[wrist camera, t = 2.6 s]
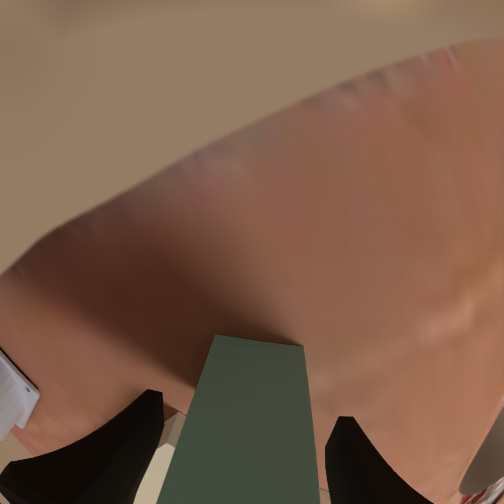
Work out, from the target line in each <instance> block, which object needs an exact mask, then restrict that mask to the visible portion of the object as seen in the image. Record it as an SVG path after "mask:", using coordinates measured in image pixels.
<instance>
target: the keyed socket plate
mask: <svg viewBox="0 0 504 504" xmlns="http://www.w3.org/2000/svg"><path fill="white" fill-rule="evenodd" d="M185 419H186V416H185V415H184V414H182V413H181V412H179V411H178V412H177V413H176V414H175V415H173V416H172V417H171V418H169V419H168V420H167V421H165V422H164V424H165V426H164V429H163V432H162V436H161V439H160V442H159V445H158V447H157V449H156V452H155V454H154V456H153V458H152V460H151V462H150V465H149V467H148V469H147V471H146V473H145V475H144V477H143V479H142V481H141V484H140V486H139V488H138V491H137V494H136V497H135V500H134V503H133V504H156V502H157V499H158V496H159V493H160V491H161V488H162V485H163V482H164V479H165V476H166V473H167V470H168V467H169V465H170V462H171V459H172V456H173V453H174V450H175V447H176V444H177V442H178V439H179V436H180V433H181V430H182V427H183V424H184V422H185ZM319 493H320V504H331V501H330V495H329V492H327V491H325V490H323V489H320V488H319Z"/></svg>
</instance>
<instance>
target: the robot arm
mask: <svg viewBox="0 0 504 504" xmlns="http://www.w3.org/2000/svg"><path fill="white" fill-rule="evenodd" d="M39 397H40V393H39V391H38V390H37V389H36V388H35V387H34V386H33V385H32V384H31V383H30V382H29V381H28V380H27V379H26V378H25V377H24V376H23V375H22V374H21V373H20V371H19V370H18V369H17V368H16V367H15V366H14V365H13V364H12V363H11V362H10V361H9V359H8V358H7V357H6V356H5V355H4V354H3V353H2V351H1V350H0V441H1V440H2V439H3V438H4V437H5V435H6V434H7V433H8V432H9V431H10V429H11V428H12V427H13V426H14V425H15V424H16V425H17V426H18V427H19V428H21V429H23V428H24V427H25V425H26V423H27V421H28V419H29V417H30V415H31V413H32V411H33V409H34V407H35V405H36V403H37V401H38V399H39ZM164 426H165V424H164V411H163V394H162V392H158V391H154V390H150V389H147V390H146V391H144V392H143V393H142V394H141V395H140V396H139V397H138V398H137V399H136V400H135V401H133V402H132V403H131V404H130V405H129V406H128V407H127V408H125V409H124V410H123V411H122V412H120V413H119V414H118V415H117V416H115V417H114V418H113V419H111V420H110V421H109V422H107V423H106V424H104V425H103V426H102V427H100V428H99V429H97V430H96V431H94V432H92V433H91V434H89V435H87V436H86V437H84V438H82V439H80V440H78V441H76V442H74V443H72V444H70V445H68V446H66V447H63V448H61V449H58V450H56V451H53V452H50V453H47V454H44V455H40V456H37V457H33V458H28V459H23V460H18V461H11V462H10V463H9V464H8V465H7V466H6V467H5V468H4V470H3V472H2V473H1V474H0V493H2V495H3V496H4V497H5V498H6V499H7V500H8V501H9V503H10V504H133V503H134V500H135V497H136V494H137V491H138V488H139V486H140V484H141V481H142V479H143V477H144V475H145V473H146V471H147V469H148V467H149V465H150V462H151V460H152V458H153V456H154V454H155V452H156V449H157V447H158V445H159V442H160V439H161V436H162V432H163V429H164ZM325 468H326V475H327V482H328V488H329V495H330V501H331V504H434V503H432V502H431V501H429V500H428V499H426V498H425V497H423V496H422V495H421V494H419V493H418V492H417V491H415V490H414V489H413V488H412V487H410V486H409V485H408V484H407V483H406V482H405V481H404V480H403V479H402V478H401V477H400V476H399V475H398V474H397V473H396V472H395V471H394V470H393V469H392V468H391V467H390V466H389V465H388V463H387V462H386V461H385V460H384V459H383V457H382V456H381V455H380V454H379V452H378V451H377V450H376V448H375V447H374V446H373V444H372V443H371V442H370V440H369V439H368V437H367V436H366V435H365V433H364V432H363V430H362V429H361V427H360V426H359V424H358V423H357V421H356V420H355V419H354V417H346V416H339V417H338V419H337V422H336V424H335V426H334V429H333V431H332V433H331V435H330V438H329V440H328V442H327V444H326V446H325ZM0 504H1V503H0Z"/></svg>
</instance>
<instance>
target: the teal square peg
mask: <svg viewBox="0 0 504 504" xmlns="http://www.w3.org/2000/svg"><path fill="white" fill-rule="evenodd" d="M156 504H320V493H319V481H318V470H317V459H316V449H315V439H314V430H313V421H312V412H311V403H310V395H309V386H308V378H307V370H306V362H305V355H304V347H303V346H295V345H287V344H279V343H271V342H263V341H256V340H249V339H242V338H236V337H229V336H223V335H217V334H215V337H214V339H213V342H212V345H211V348H210V351H209V354H208V356H207V359H206V362H205V365H204V368H203V370H202V373H201V376H200V379H199V382H198V385H197V387H196V390H195V393H194V396H193V399H192V402H191V404H190V407H189V410H188V413H187V416H186V419H185V422H184V424H183V427H182V430H181V433H180V436H179V439H178V442H177V444H176V447H175V450H174V453H173V456H172V459H171V462H170V465H169V467H168V470H167V473H166V476H165V479H164V482H163V485H162V488H161V491H160V493H159V496H158V499H157V502H156Z"/></svg>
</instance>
